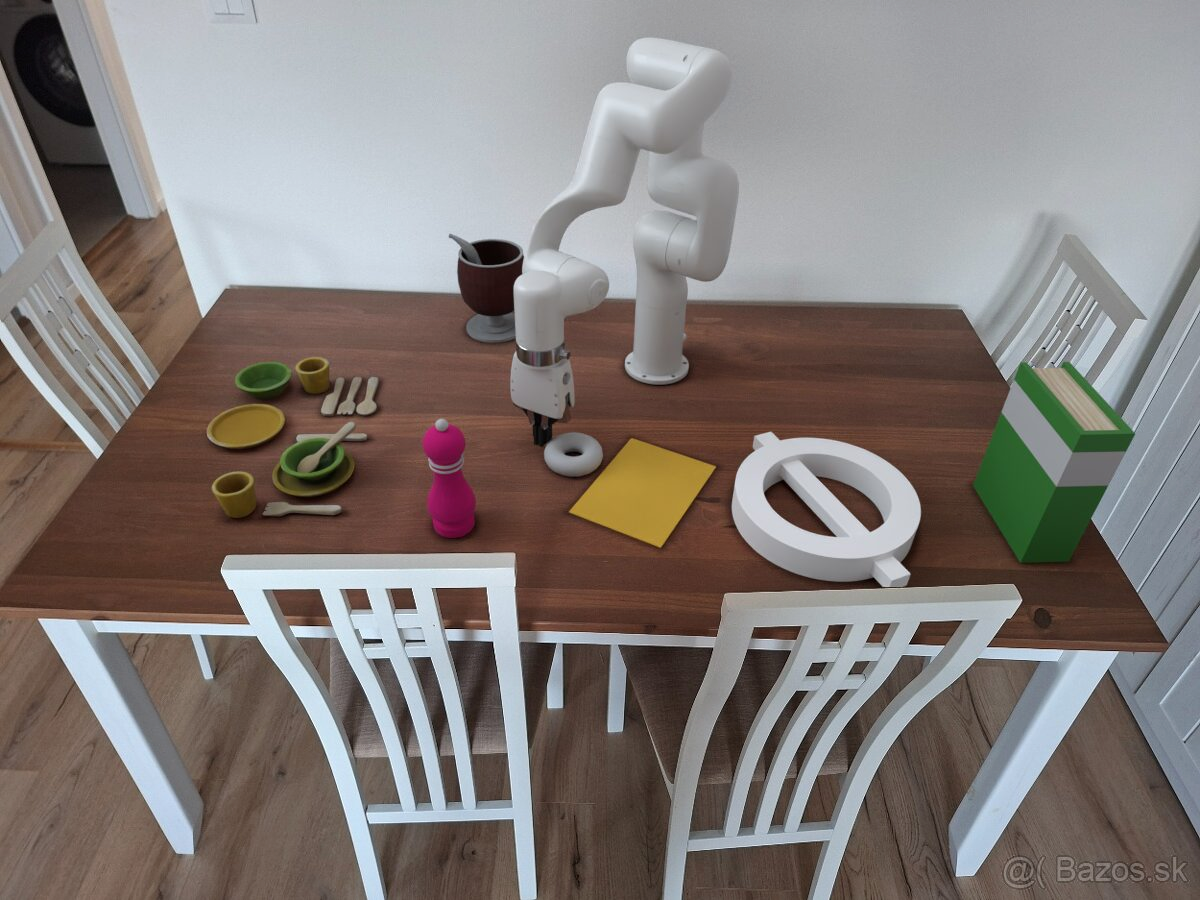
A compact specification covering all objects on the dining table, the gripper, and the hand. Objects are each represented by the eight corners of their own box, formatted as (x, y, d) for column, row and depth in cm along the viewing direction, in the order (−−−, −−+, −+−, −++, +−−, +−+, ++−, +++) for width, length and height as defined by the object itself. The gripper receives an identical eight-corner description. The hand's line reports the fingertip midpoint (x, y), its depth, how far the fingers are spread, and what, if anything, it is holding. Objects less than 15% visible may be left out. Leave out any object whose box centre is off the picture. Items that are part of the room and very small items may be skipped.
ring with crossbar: (754, 444, 145) (757, 422, 142) (920, 484, 137) (927, 462, 134) (711, 550, 124) (714, 526, 122) (903, 604, 117) (912, 581, 114)
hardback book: (972, 485, 137) (1020, 362, 122) (1016, 484, 138) (1069, 361, 123) (1020, 562, 124) (1080, 434, 109) (1068, 561, 124) (1135, 433, 109)
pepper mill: (469, 544, 125) (457, 438, 112) (423, 536, 126) (406, 431, 113) (484, 512, 130) (474, 408, 118) (440, 505, 131) (425, 402, 119)
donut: (590, 487, 136) (611, 451, 143) (590, 471, 134) (611, 435, 141) (534, 472, 139) (558, 438, 146) (533, 456, 136) (557, 422, 144)
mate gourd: (536, 316, 179) (534, 228, 167) (517, 348, 169) (512, 257, 156) (468, 307, 182) (461, 220, 169) (445, 338, 171) (435, 248, 159)
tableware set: (342, 522, 128) (335, 491, 124) (159, 524, 127) (145, 493, 123) (387, 375, 160) (382, 347, 156) (241, 376, 159) (232, 348, 155)
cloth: (631, 438, 146) (631, 437, 146) (716, 467, 140) (716, 466, 140) (568, 512, 130) (568, 511, 130) (660, 548, 125) (660, 547, 124)
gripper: (593, 351, 131) (591, 443, 142) (513, 327, 136) (518, 417, 147) (568, 373, 125) (569, 467, 137) (487, 347, 131) (494, 439, 142)
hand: (542, 441), depth 142 cm, fingers closed
